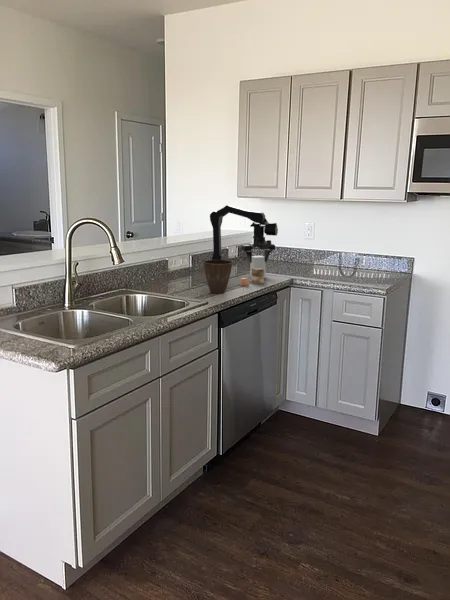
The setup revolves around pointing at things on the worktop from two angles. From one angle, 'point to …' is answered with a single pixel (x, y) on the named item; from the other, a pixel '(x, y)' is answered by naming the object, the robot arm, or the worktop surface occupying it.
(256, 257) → the supplement box
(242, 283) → the peach rounded piece
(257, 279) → the maple cube
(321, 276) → the worktop surface
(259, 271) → the walnut cube
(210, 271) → the plant pot
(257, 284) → the pad
